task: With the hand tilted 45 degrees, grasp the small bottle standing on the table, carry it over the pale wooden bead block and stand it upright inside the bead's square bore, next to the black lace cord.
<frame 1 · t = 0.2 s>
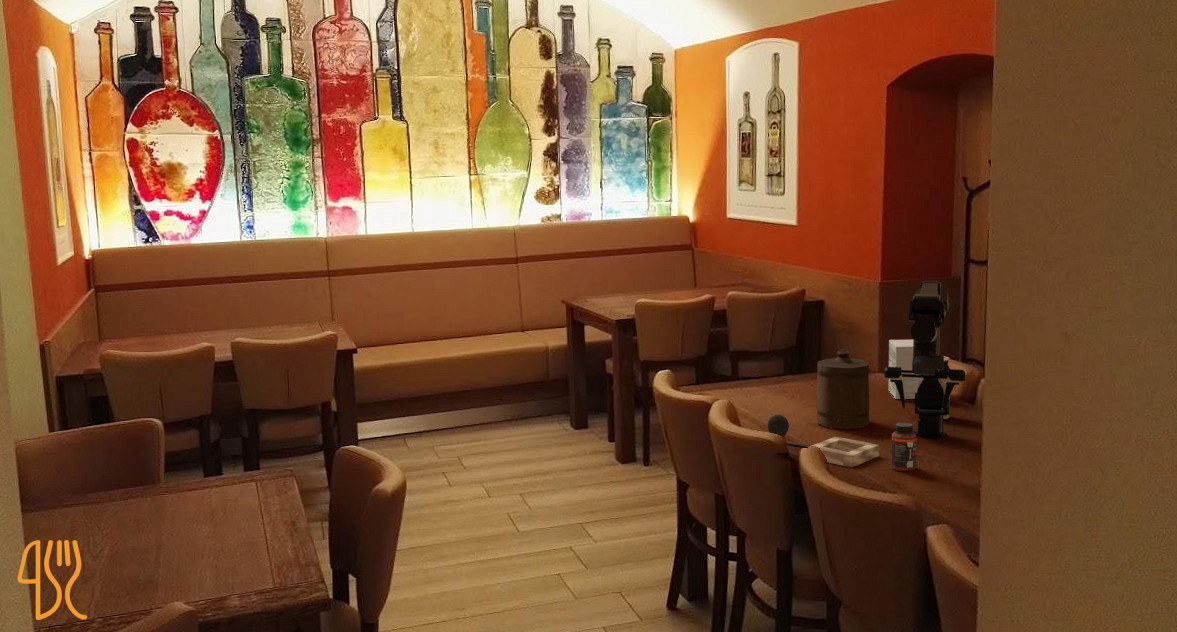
hand: (923, 409, 251), 15 cm above the table, tool pointing down, fingers open, 9 cm apart
light bulb: (778, 452, 274), on the table
travel mug: (935, 418, 303), on the table
lace cord: (804, 447, 277), on the table
wooden container: (842, 424, 300), on the table
supplement bottle: (903, 469, 255), on the table
supplement box: (912, 396, 332), on the table
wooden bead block: (843, 457, 266), on the table
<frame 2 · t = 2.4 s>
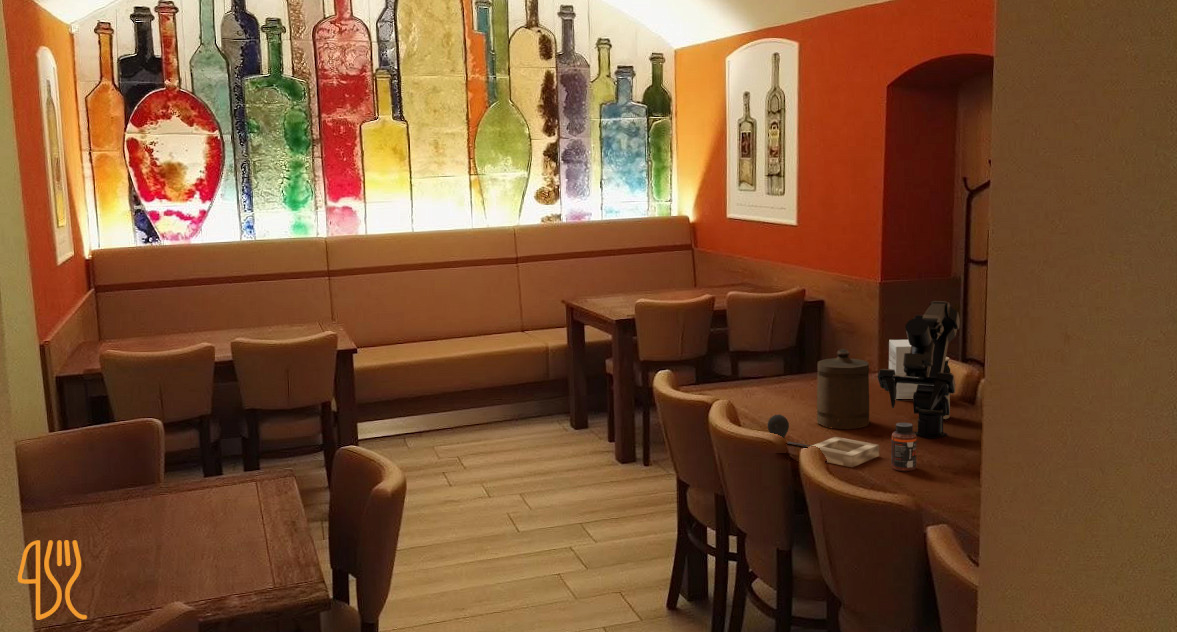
hand: (911, 408, 260), 13 cm above the table, tool tilted 45°, fingers open, 9 cm apart
nothing on the table moved.
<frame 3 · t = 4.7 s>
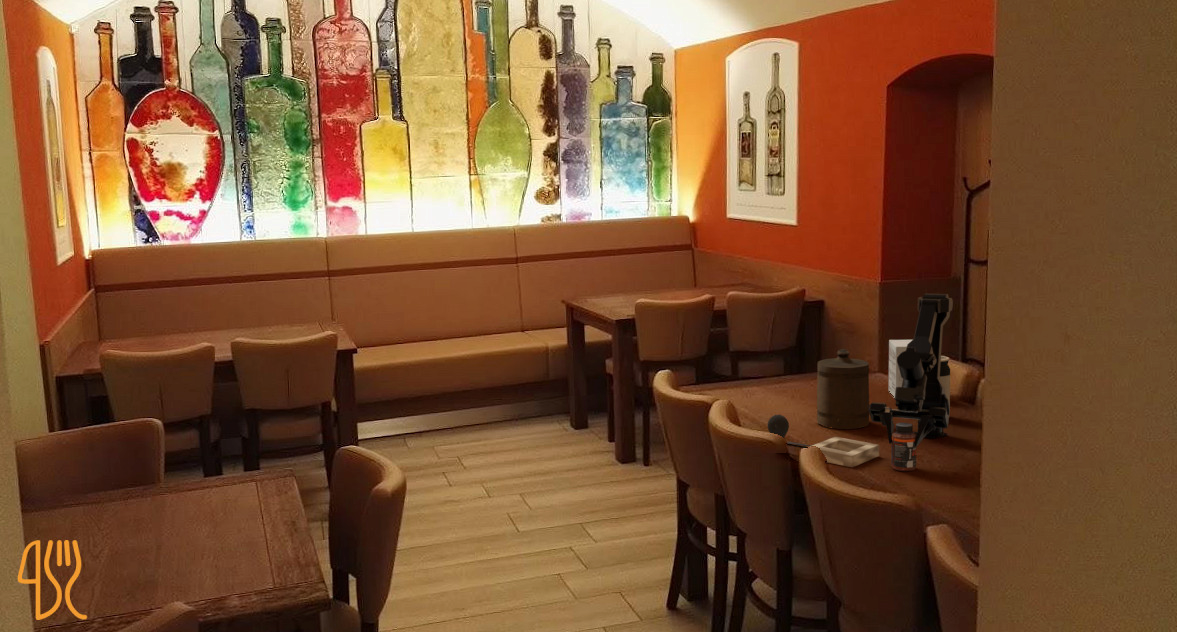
hand: (902, 444, 253), 7 cm above the table, tool tilted 45°, fingers closed on supplement bottle, 6 cm apart
supplement bottle: (903, 469, 255), on the table, touching gripper
everything else where it was.
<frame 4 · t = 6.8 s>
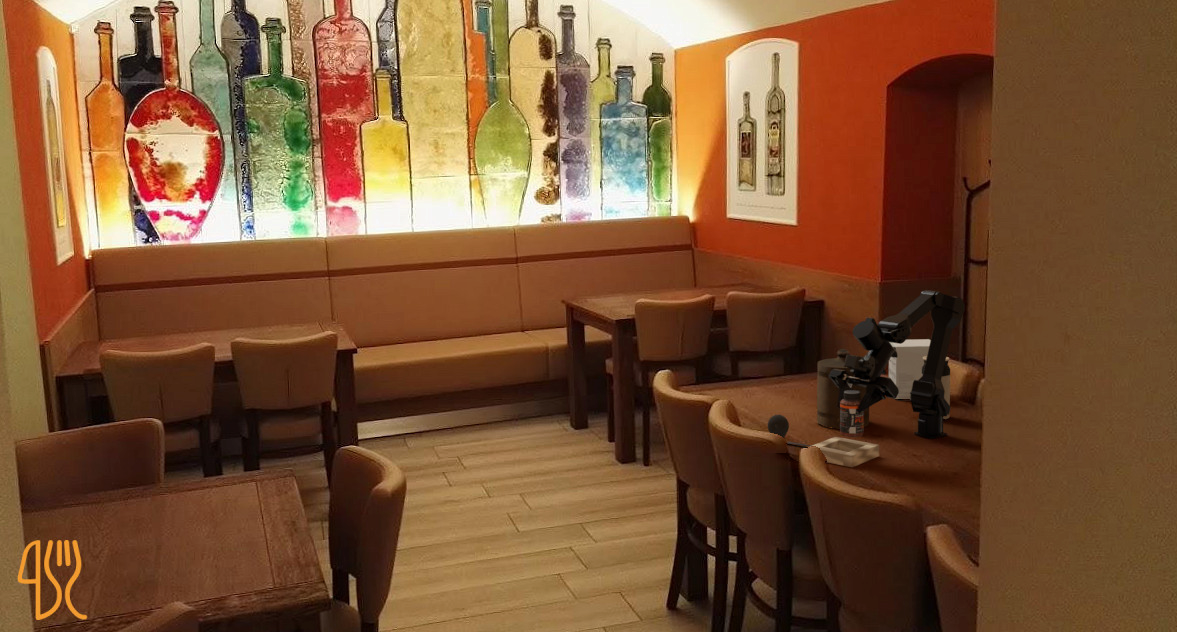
hand: (848, 410, 261), 13 cm above the table, tool tilted 45°, fingers closed on supplement bottle, 6 cm apart
supplement bottle: (851, 435, 263), point 6 cm above the table, touching gripper
everything else where it was.
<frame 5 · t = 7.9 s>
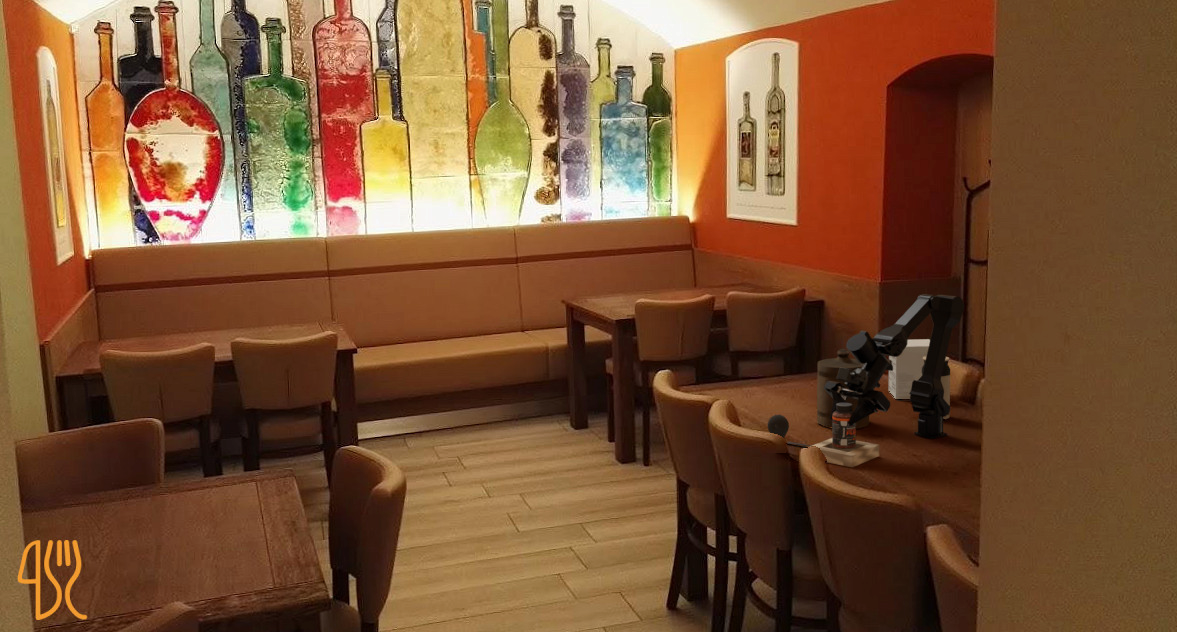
hand: (840, 422, 264), 10 cm above the table, tool tilted 45°, fingers closed on supplement bottle, 6 cm apart
supplement bottle: (844, 447, 266), point 3 cm above the table, touching gripper
everything else where it was.
when the fingers open (8 cm above the table, at t = 8.8 s): supplement bottle drops 1 cm, resting in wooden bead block.
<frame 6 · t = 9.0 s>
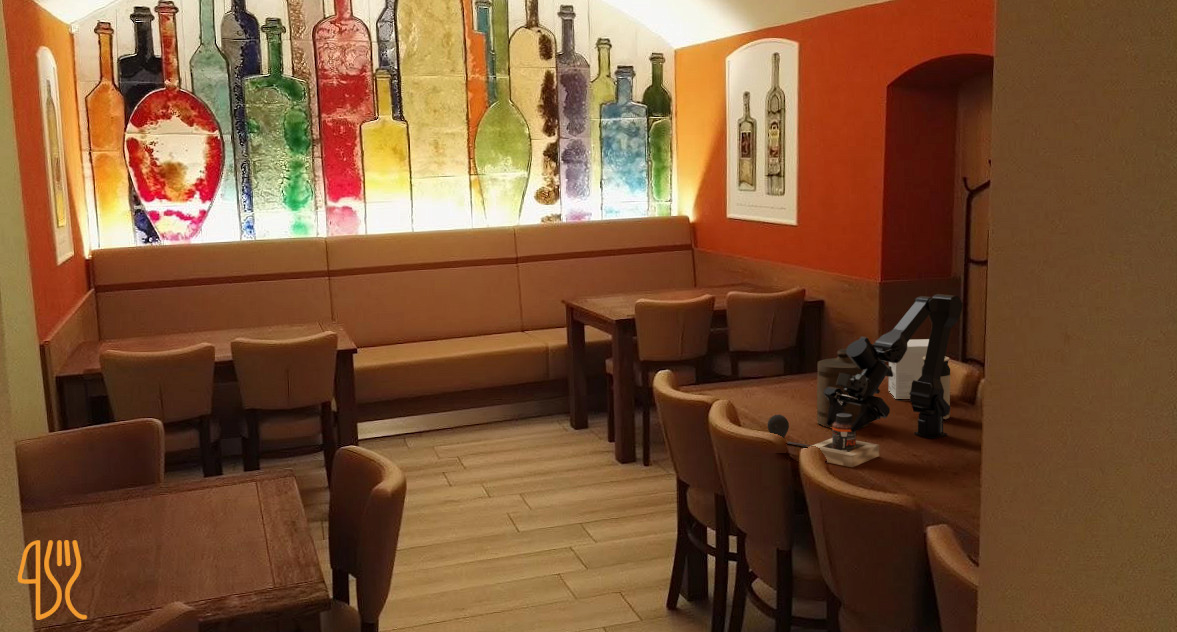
hand: (839, 427, 264), 8 cm above the table, tool tilted 45°, fingers open, 8 cm apart
supplement bottle: (844, 457, 266), resting in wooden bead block
everything else where it was.
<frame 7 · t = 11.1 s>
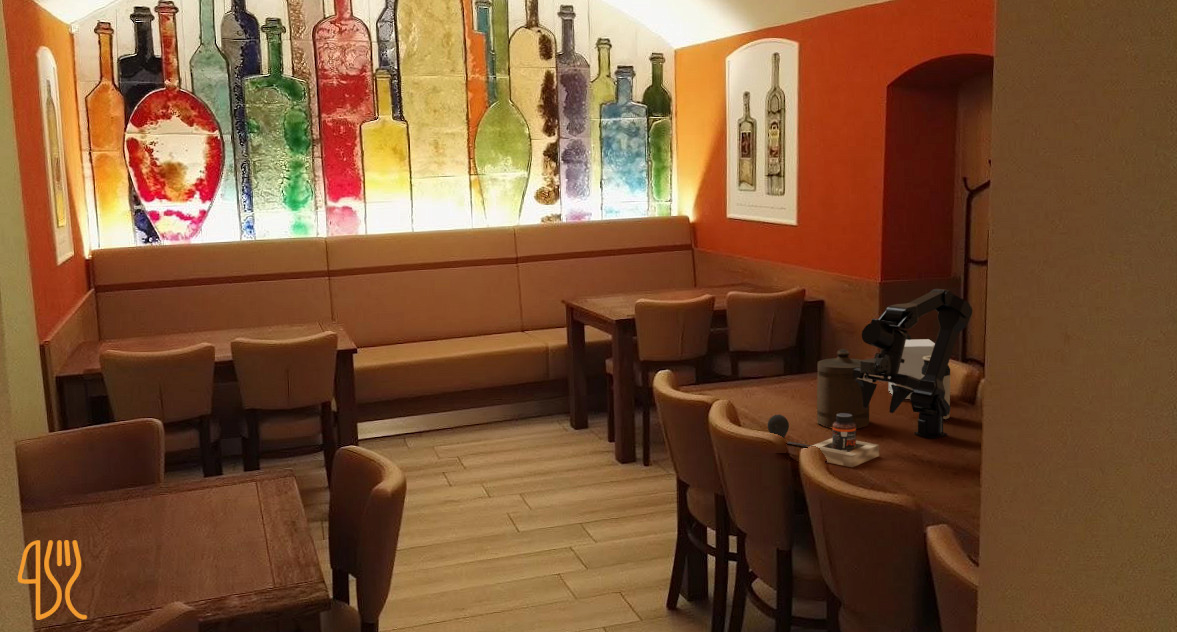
hand: (877, 410, 269), 11 cm above the table, tool tilted 20°, fingers open, 9 cm apart
nothing on the table moved.
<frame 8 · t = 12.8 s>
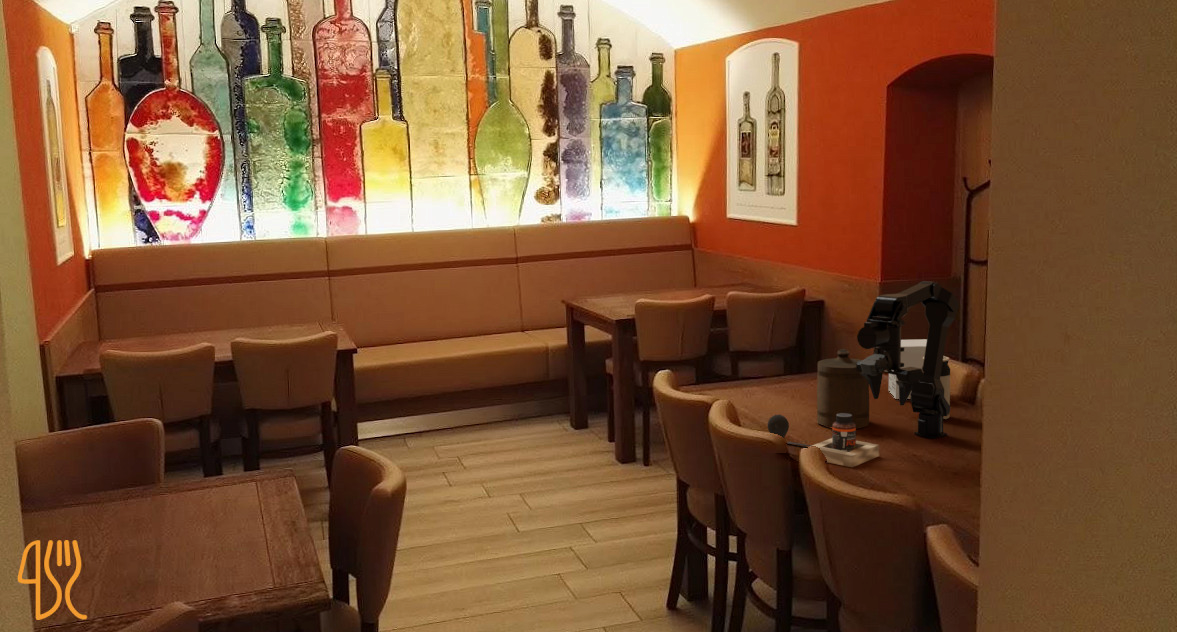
hand: (888, 402, 269), 13 cm above the table, tool pointing down, fingers open, 9 cm apart
nothing on the table moved.
at the end: supplement bottle 0.2 cm from the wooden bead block (horizontally); supplement bottle tilted 0°; the gripper is holding nothing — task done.
